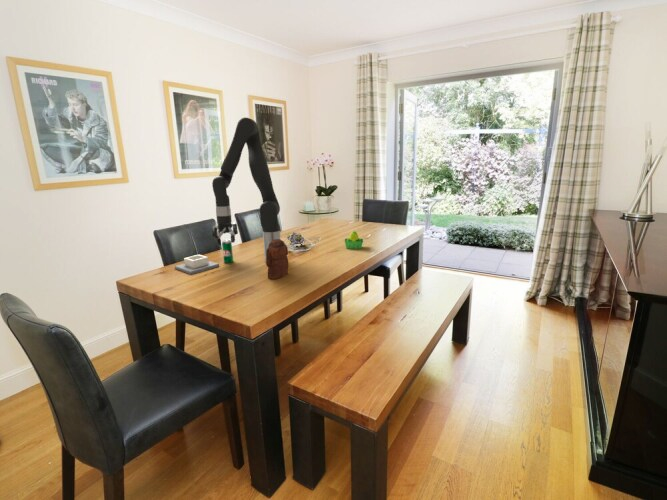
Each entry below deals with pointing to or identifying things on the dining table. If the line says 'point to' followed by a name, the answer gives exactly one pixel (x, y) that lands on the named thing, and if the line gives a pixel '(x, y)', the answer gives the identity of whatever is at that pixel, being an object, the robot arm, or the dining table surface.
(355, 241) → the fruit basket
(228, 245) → the soda can
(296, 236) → the passion flower
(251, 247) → the dining table surface
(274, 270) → the wooden figurine
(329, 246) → the dining table surface
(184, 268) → the can holder
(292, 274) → the dining table surface
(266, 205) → the robot arm
